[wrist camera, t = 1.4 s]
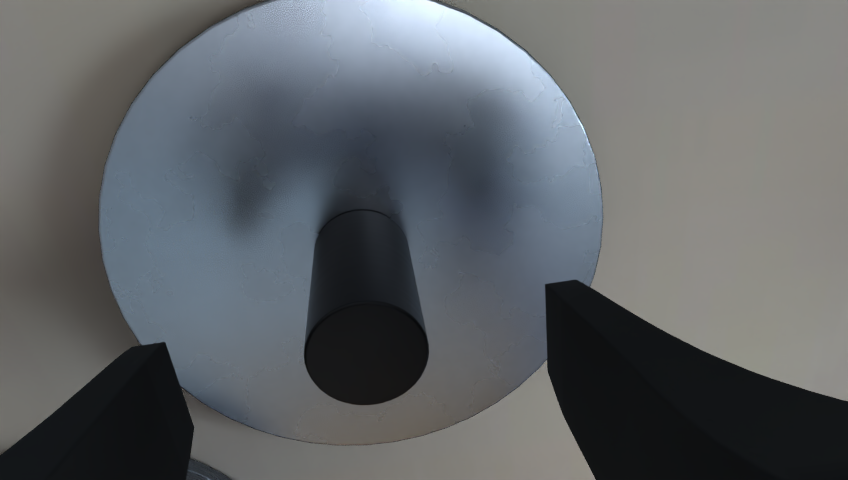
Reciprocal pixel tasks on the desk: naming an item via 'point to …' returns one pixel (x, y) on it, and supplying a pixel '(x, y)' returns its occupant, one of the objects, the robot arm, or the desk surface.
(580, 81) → the desk surface
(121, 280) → the lid
